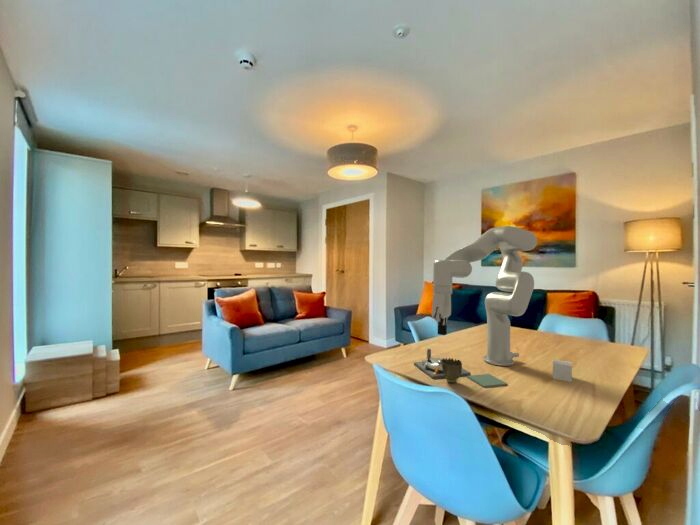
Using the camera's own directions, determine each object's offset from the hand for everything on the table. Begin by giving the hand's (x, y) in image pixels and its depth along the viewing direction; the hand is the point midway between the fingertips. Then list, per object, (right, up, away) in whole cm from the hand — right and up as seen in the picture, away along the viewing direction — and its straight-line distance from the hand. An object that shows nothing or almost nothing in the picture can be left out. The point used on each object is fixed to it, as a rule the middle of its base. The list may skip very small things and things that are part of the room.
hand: (442, 334), depth 124 cm
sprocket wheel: (0, -14, +3) cm, 14 cm away
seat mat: (+14, -16, -10) cm, 23 cm away
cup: (0, -16, -11) cm, 19 cm away
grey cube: (+45, -16, -6) cm, 48 cm away
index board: (0, -15, +3) cm, 16 cm away
